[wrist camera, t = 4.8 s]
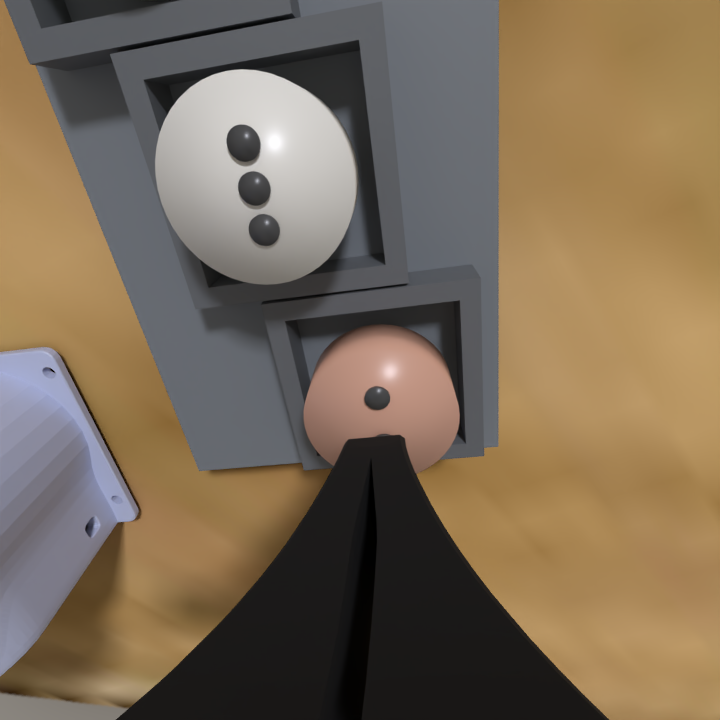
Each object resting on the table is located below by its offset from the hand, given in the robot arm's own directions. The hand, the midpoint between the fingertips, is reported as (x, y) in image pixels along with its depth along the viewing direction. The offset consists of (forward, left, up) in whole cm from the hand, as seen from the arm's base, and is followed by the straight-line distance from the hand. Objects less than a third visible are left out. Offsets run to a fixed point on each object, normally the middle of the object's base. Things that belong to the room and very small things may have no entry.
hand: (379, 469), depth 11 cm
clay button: (0, 0, -4) cm, 4 cm away
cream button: (+6, +2, -4) cm, 8 cm away
